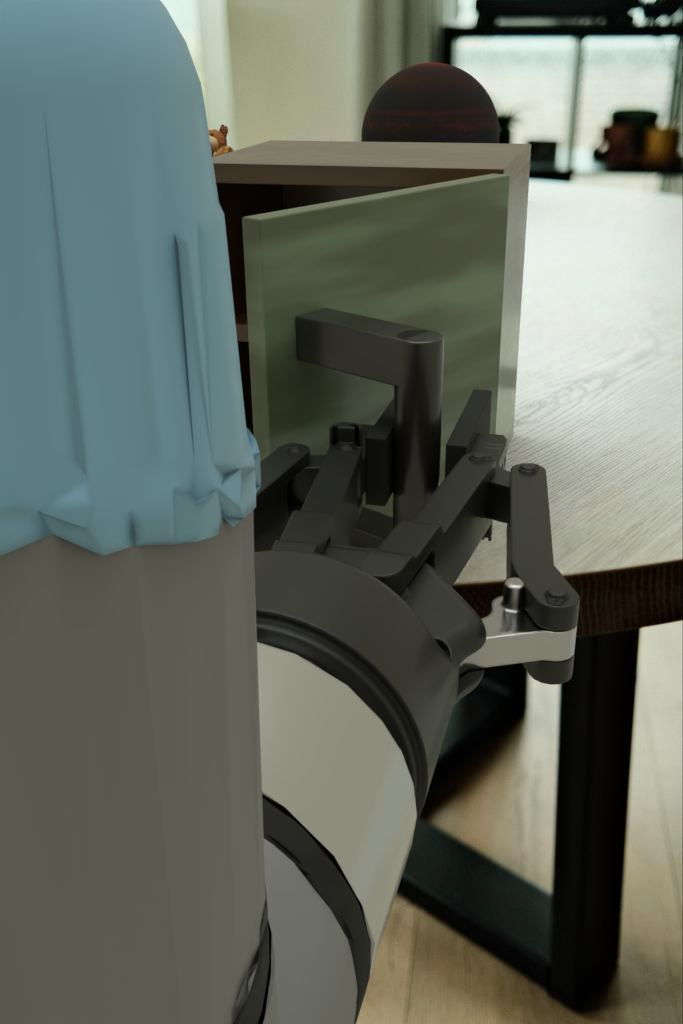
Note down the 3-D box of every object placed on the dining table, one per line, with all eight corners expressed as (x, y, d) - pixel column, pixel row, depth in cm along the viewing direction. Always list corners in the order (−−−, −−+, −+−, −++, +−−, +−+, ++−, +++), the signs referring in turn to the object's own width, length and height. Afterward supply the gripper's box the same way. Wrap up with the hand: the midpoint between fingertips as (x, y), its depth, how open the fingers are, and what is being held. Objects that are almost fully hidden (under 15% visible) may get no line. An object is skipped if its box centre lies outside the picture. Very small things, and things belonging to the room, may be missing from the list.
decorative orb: (477, 196, 162) (483, 59, 154) (511, 216, 144) (520, 62, 136) (353, 200, 160) (352, 62, 152) (372, 221, 142) (372, 65, 134)
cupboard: (486, 511, 56) (504, 168, 48) (215, 482, 60) (192, 162, 52) (513, 435, 66) (531, 143, 59) (281, 415, 70) (269, 140, 63)
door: (597, 553, 51) (635, 185, 43) (390, 692, 40) (394, 239, 33) (476, 511, 56) (492, 172, 48) (263, 627, 45) (241, 216, 37)
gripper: (-17, 835, 26) (278, 481, 47) (594, 961, 22) (623, 516, 43) (-71, 579, 23) (271, 320, 43) (631, 677, 19) (643, 342, 40)
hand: (445, 418), depth 43 cm, fingers open, 2 cm apart
